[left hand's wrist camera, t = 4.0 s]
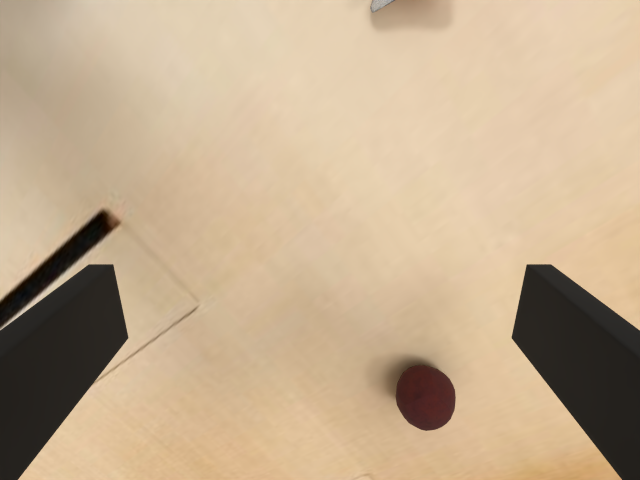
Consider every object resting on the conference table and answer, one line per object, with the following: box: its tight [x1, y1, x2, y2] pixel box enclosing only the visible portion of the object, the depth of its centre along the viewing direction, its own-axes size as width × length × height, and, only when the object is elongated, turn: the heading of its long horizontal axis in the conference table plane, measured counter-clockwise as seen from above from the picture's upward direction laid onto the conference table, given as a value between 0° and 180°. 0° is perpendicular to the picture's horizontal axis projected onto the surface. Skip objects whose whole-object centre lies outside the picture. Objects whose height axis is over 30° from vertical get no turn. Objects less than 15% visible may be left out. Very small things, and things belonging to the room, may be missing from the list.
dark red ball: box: [396, 365, 455, 431], centre depth 49 cm, size 7×8×7 cm
